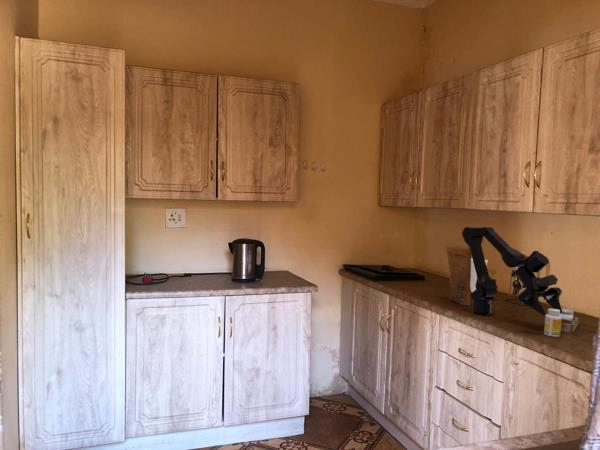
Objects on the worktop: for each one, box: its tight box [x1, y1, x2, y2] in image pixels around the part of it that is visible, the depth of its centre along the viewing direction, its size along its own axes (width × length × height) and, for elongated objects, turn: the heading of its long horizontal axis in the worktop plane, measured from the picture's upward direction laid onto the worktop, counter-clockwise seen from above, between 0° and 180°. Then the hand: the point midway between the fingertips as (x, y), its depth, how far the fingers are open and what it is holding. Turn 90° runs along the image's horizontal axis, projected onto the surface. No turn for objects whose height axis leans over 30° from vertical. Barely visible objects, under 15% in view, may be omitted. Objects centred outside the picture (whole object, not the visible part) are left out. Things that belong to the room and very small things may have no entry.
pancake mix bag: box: [445, 244, 472, 306], centre depth 222 cm, size 7×19×28 cm, turn 13°
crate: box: [561, 316, 579, 334], centre depth 181 cm, size 9×16×4 cm, turn 142°
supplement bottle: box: [543, 308, 562, 338], centre depth 170 cm, size 5×5×10 cm
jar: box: [559, 307, 575, 321], centre depth 184 cm, size 6×6×6 cm
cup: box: [470, 258, 489, 293], centre depth 251 cm, size 11×11×18 cm
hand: (553, 313), depth 170 cm, fingers open, 9 cm apart
